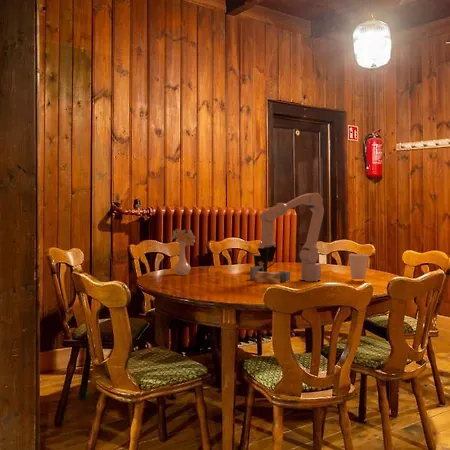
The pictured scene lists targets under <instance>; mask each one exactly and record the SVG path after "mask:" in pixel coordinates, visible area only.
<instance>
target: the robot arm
mask: <svg viewBox="0 0 450 450" xmlns="http://www.w3.org/2000/svg"><path fill="white" fill-rule="evenodd" d="M323 202H324V198H323V197H322V196H321V194H320V193H318V192H310V193H308V192H307V193H304V194H301V195H299V196H297V197H295V198H293V199H291V200H289V201H288V202H285V203H284V202H278V203H276V205H273V206H272V207H268V209H265V210H263V211H261V214H260V215H259V219H260V220H261V242H260V243H259V247H257V251H258V253H259V254H260V256H261V260H262V263H267V257H268V262H274V258H275V255H276V252H277V250H278V247H277V246H276V242H275V241H274V237H275V236H274V235H275V234H274V231H275V229H274V227H275V226H274V225H275V224H274V221H275V220H276V219H278V218H280V217H282V216H284V215H286V214H287V213H288V211H289V210H291V209H293V208H295V207H297V206H299V205H305V206H306V207H307V208H308V209H309V210H310V211H311V212H312V215H311V219H310V222H309V228H308V231H307V236H306V242H305V243H304V244H303V246H302V247H301V250H300V251H299V253H298V254H299V256H298V257H299V259H300V260H301V264H300V265H301V267H300V268H301V269H300V270H301V276H300V278H299V279H298V281H300V280H305V281H304V282H313V281H317V282H319V281H318V280H320V279H321V280H322V266H321V264H320V263H317V261H318V260H319V247H318V245H317V244H318V241H319V236H320V231H321V226H322V222H323V218H324V213H325V208H324V203H323ZM321 280H320V281H321Z"/></svg>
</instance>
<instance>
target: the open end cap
mask: <svg viewBox="0 0 450 450" xmlns="http://www.w3.org/2000/svg"><path fill="white" fill-rule="evenodd" d="M274 273H280V283H284V282H285V283H287V282H286V281H288V280H290V281H291V271H288V270H287V271H285V270H279V272H278V271H277V272H275V271H274ZM288 282H289V281H288Z"/></svg>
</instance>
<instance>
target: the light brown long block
mask: <svg viewBox="0 0 450 450" xmlns="http://www.w3.org/2000/svg"><path fill="white" fill-rule="evenodd" d="M254 282H255V283H263V282H267V283H266V284H275V283H278V284H280V283H281V282H280V273H279V272H278V273H275V271H274V272H271V271H267V272H260V271H257V272H255V280H254ZM279 282H280V283H279Z"/></svg>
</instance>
